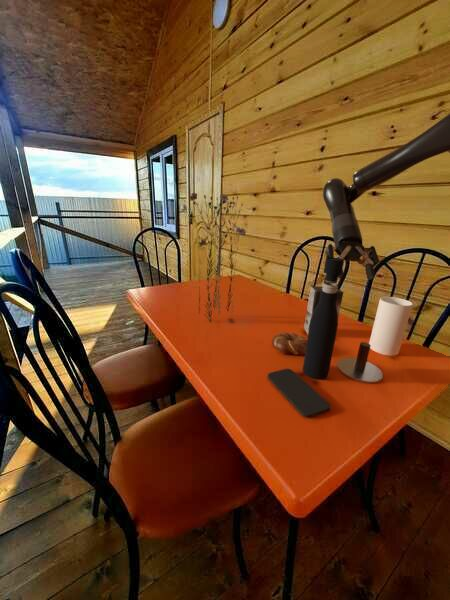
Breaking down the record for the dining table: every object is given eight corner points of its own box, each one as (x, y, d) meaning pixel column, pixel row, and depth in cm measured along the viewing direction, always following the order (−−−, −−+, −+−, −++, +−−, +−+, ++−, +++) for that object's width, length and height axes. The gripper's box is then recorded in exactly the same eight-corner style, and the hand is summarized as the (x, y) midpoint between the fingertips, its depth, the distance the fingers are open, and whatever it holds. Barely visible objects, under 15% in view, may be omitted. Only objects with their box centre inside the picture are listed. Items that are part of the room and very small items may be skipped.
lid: (372, 361, 73) (378, 336, 70) (390, 386, 62) (398, 357, 60) (332, 357, 74) (337, 332, 71) (343, 380, 64) (350, 353, 61)
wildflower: (223, 304, 114) (227, 196, 99) (256, 322, 96) (266, 193, 81) (176, 313, 102) (173, 192, 87) (203, 336, 84) (204, 188, 69)
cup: (376, 355, 76) (390, 305, 71) (363, 341, 84) (374, 296, 79) (404, 356, 76) (419, 306, 71) (389, 343, 84) (401, 297, 78)
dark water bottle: (297, 370, 67) (314, 257, 58) (311, 362, 71) (329, 255, 61) (318, 383, 63) (340, 262, 53) (333, 374, 66) (356, 260, 56)
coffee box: (308, 336, 87) (315, 291, 81) (303, 327, 93) (309, 285, 87) (335, 337, 86) (344, 292, 81) (328, 329, 93) (336, 286, 87)
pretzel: (311, 343, 82) (313, 333, 81) (310, 360, 72) (312, 349, 71) (274, 336, 85) (275, 326, 84) (268, 352, 76) (269, 341, 75)
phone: (305, 416, 51) (265, 373, 64) (305, 419, 51) (265, 376, 64) (333, 406, 54) (289, 367, 67) (332, 409, 54) (289, 370, 67)
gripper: (327, 222, 75) (336, 269, 68) (375, 224, 75) (389, 271, 68) (318, 239, 82) (325, 283, 75) (362, 240, 82) (373, 284, 75)
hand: (356, 277), depth 71 cm, fingers open, 8 cm apart
